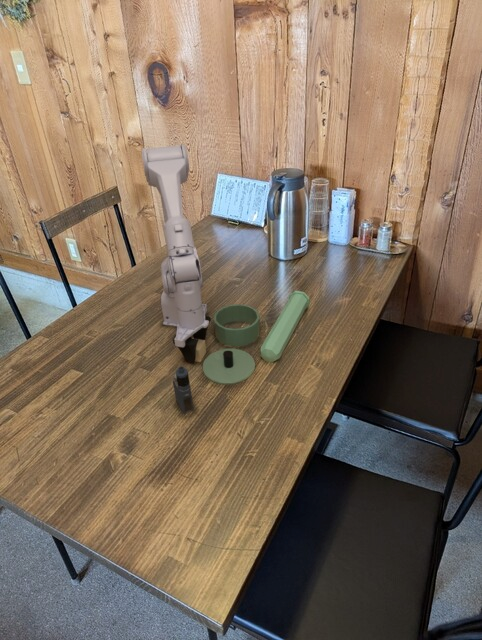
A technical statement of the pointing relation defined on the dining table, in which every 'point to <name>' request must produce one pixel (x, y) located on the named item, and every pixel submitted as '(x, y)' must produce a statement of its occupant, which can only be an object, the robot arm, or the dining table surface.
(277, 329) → the green octagonal rod
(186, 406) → the vaping device
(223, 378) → the lid
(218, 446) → the dining table surface
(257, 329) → the pan
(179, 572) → the dining table surface
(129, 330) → the dining table surface
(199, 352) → the block
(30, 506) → the dining table surface
